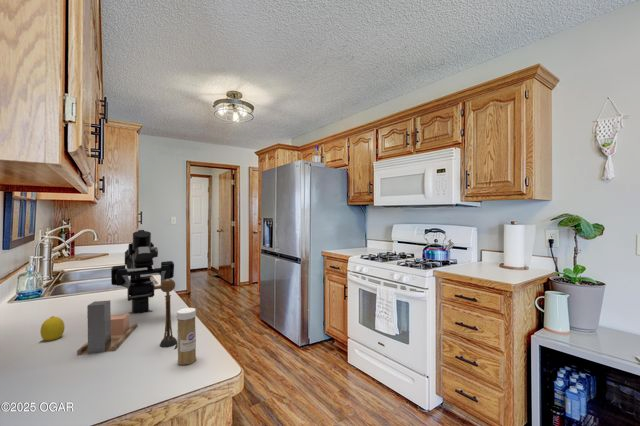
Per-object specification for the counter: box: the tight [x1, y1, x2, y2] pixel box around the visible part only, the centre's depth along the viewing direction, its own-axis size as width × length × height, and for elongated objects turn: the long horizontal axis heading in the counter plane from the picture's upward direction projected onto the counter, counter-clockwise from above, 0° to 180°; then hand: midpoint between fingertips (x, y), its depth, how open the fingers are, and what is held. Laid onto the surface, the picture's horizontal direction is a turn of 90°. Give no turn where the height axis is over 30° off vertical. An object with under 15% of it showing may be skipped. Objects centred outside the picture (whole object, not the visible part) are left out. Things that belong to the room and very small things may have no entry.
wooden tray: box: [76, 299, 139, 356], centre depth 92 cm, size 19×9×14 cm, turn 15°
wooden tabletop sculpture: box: [154, 278, 178, 350], centre depth 87 cm, size 6×5×20 cm
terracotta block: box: [111, 313, 130, 336], centre depth 97 cm, size 5×5×5 cm
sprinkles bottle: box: [176, 307, 197, 366], centre depth 79 cm, size 5×5×14 cm
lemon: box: [40, 315, 65, 342], centre depth 93 cm, size 6×6×8 cm
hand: (146, 285), depth 99 cm, fingers open, 9 cm apart
